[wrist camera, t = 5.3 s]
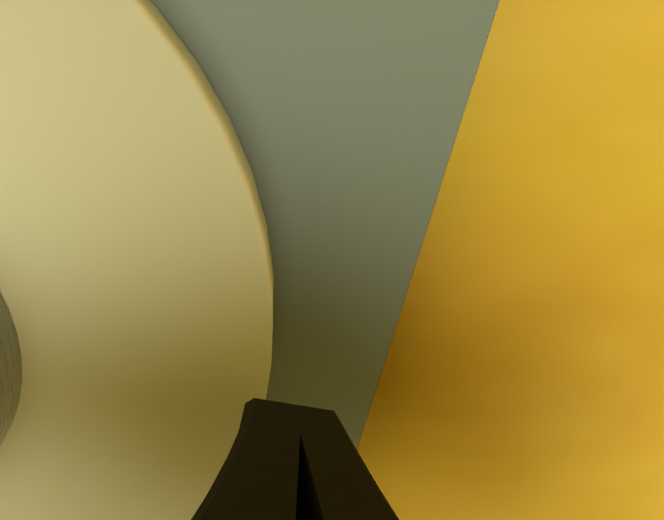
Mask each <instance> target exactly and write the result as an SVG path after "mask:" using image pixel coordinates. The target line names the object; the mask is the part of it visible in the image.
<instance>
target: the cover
mask: <svg viewBox="0 0 664 520" xmlns="http://www.w3.org/2000/svg"><path fill="white" fill-rule="evenodd" d="M21 386H22V356H21V351H20V345H19V340H18V334H17V331H16V328H15V325H14V322H13V319H12V316H11V313H10V310H9V308H8V306H7V304H6V302H5V300H4V298H3V296H2V294H1V292H0V445H1V444H2V442H3V441H4V439H5V437H6V435H7V433H8V431H9V429H10V427H11V425H12V423H13V420H14V417H15V414H16V411H17V408H18V405H19V401H20V393H21Z"/></svg>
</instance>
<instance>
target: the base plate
mask: <svg viewBox="0 0 664 520" xmlns="http://www.w3.org/2000/svg"><path fill="white" fill-rule="evenodd" d="M150 1H151V2H152V3H153V4H154V5H155V6H156V8H157V9H158V10H159V12H160V13H161V14H162V16H163V17H164V18H165V20H166V21H167V22H168V23H169V25H170V26H171V27H172V29H173V30H174V31H175V33H176V34H177V35H178V37H179V38H180V39H181V41H182V42H183V43H184V45H185V46H186V47H187V49H188V50H189V51H190V53H191V54H192V55H193V57H194V58H195V59H196V61H197V62H198V64H199V65H200V67H201V69H202V71H203V72H204V74H205V76H206V78H207V79H208V81H209V83H210V84H211V86H212V88H213V90H214V91H215V93H216V95H217V97H218V98H219V100H220V102H221V103H222V105H223V107H224V109H225V110H226V112H227V114H228V116H229V117H230V120H231V122H232V124H233V127H234V129H235V132H236V134H237V136H238V139H239V141H240V143H241V146H242V148H243V150H244V153H245V155H246V158H247V160H248V162H249V165H250V167H251V169H252V172H253V176H254V179H255V183H256V187H257V190H258V194H259V197H260V201H261V205H262V208H263V212H264V215H265V219H266V223H267V229H268V237H269V244H270V252H271V259H272V267H273V333H272V360H271V370H270V376H269V382H268V388H267V395H266V400H271V401H277V402H283V403H289V404H295V405H302V406H308V407H314V408H320V409H327V410H333V411H335V413H336V414H337V416H338V418H339V419H340V421H341V423H342V424H343V426H344V428H345V430H346V432H347V433H348V435H349V437H350V439H351V441H352V442H353V444H354V446H355V448H356V449H357V447H358V444H359V441H360V438H361V435H362V432H363V428H364V425H365V422H366V419H367V416H368V413H369V409H370V406H371V403H372V400H373V397H374V394H375V391H376V387H377V384H378V381H379V378H380V375H381V372H382V369H383V365H384V362H385V359H386V356H387V353H388V350H389V347H390V343H391V340H392V337H393V334H394V331H395V328H396V324H397V321H398V318H399V315H400V312H401V309H402V306H403V302H404V299H405V296H406V293H407V290H408V287H409V284H410V280H411V277H412V274H413V271H414V268H415V265H416V262H417V258H418V255H419V252H420V249H421V246H422V243H423V240H424V236H425V233H426V230H427V227H428V224H429V221H430V217H431V214H432V211H433V208H434V205H435V202H436V199H437V195H438V192H439V189H440V186H441V183H442V180H443V177H444V173H445V170H446V167H447V164H448V161H449V158H450V155H451V151H452V148H453V145H454V142H455V139H456V136H457V132H458V129H459V126H460V123H461V120H462V117H463V114H464V110H465V107H466V104H467V101H468V98H469V95H470V92H471V88H472V85H473V82H474V79H475V76H476V73H477V70H478V66H479V63H480V60H481V57H482V54H483V51H484V48H485V44H486V41H487V38H488V35H489V32H490V29H491V25H492V22H493V19H494V16H495V13H496V10H497V7H498V3H499V0H150Z"/></svg>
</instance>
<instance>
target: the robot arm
mask: <svg viewBox="0 0 664 520" xmlns="http://www.w3.org/2000/svg"><path fill="white" fill-rule="evenodd" d="M191 520H399V519H398V517H397V516H396V514H395V512H394V511H393V509H392V508H391V506H390V505H389V503H388V501H387V500H386V498H385V497H384V495H383V494H382V492H381V490H380V489H379V487H378V485H377V484H376V482H375V480H374V479H373V477H372V475H371V474H370V472H369V470H368V469H367V467H366V465H365V463H364V462H363V460H362V458H361V457H360V455H359V453H358V451H357V449H356V448H355V446H354V444H353V442H352V441H351V439H350V437H349V435H348V433H347V432H346V430H345V428H344V426H343V424H342V423H341V421H340V419H339V418H338V416H337V414H336V413H335V411H333V410H327V409H320V408H314V407H308V406H302V405H295V404H289V403H283V402H277V401H271V400H264V399H258V398H253V399H251V400H250V401H248V402H246V403H245V406H244V410H243V414H242V419H241V423H240V428H239V431H238V434H237V436H236V439H235V441H234V443H233V445H232V448H231V450H230V452H229V454H228V456H227V458H226V460H225V462H224V464H223V466H222V468H221V469H220V471H219V473H218V475H217V477H216V479H215V481H214V482H213V484H212V486H211V488H210V490H209V492H208V493H207V495H206V497H205V498H204V500H203V502H202V503H201V505H200V506H199V508H198V509H197V511H196V513H195V514H194V516H193V517H192V519H191Z"/></svg>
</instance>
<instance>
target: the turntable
mask: <svg viewBox="0 0 664 520" xmlns="http://www.w3.org/2000/svg"><path fill="white" fill-rule="evenodd" d="M0 292H1V294H2V296H3V298H4V300H5V302H6V304H7V306H8V308H9V310H10V313H11V316H12V319H13V322H14V325H15V328H16V331H17V334H18V340H19V345H20V351H21V356H22V386H21V393H20V401H19V405H18V408H17V411H16V414H15V417H14V420H13V423H12V425H11V427H10V429H9V431H8V433H7V435H6V437H5V439H4V441H3V442H2V444H1V445H0V520H191V519H192V517H193V516H194V514H195V513H196V511H197V509H198V508H199V506H200V505H201V503H202V502H203V500H204V498H205V497H206V495H207V493H208V492H209V490H210V488H211V486H212V484H213V482H214V481H215V479H216V477H217V475H218V473H219V471H220V469H221V468H222V466H223V464H224V462H225V460H226V458H227V456H228V454H229V452H230V450H231V448H232V445H233V443H234V441H235V439H236V436H237V434H238V431H239V428H240V423H241V419H242V414H243V410H244V406H245V403H246V402H248V401H250V400H251V399H253V398H258V399H264V400H266V395H267V388H268V382H269V376H270V370H271V360H272V333H273V267H272V259H271V252H270V244H269V237H268V229H267V223H266V219H265V215H264V212H263V208H262V205H261V201H260V197H259V194H258V190H257V187H256V183H255V179H254V176H253V172H252V169H251V167H250V165H249V162H248V160H247V158H246V155H245V153H244V150H243V148H242V146H241V143H240V141H239V139H238V136H237V134H236V132H235V129H234V127H233V124H232V122H231V120H230V117H229V116H228V114H227V112H226V110H225V109H224V107H223V105H222V103H221V102H220V100H219V98H218V97H217V95H216V93H215V91H214V90H213V88H212V86H211V84H210V83H209V81H208V79H207V78H206V76H205V74H204V72H203V71H202V69H201V67H200V65H199V64H198V62H197V61H196V59H195V58H194V57H193V55H192V54H191V53H190V51H189V50H188V49H187V47H186V46H185V45H184V43H183V42H182V41H181V39H180V38H179V37H178V35H177V34H176V33H175V31H174V30H173V29H172V27H171V26H170V25H169V23H168V22H167V21H166V20H165V18H164V17H163V16H162V14H161V13H160V12H159V10H158V9H157V8H156V6H155V5H154V4H153V3H152V2H151V1H150V0H0Z"/></svg>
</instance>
